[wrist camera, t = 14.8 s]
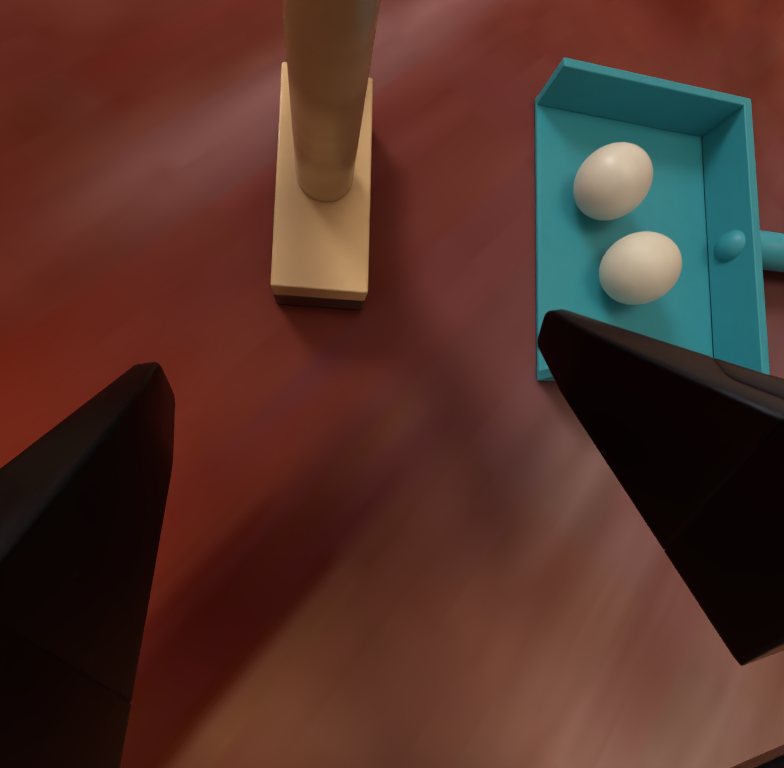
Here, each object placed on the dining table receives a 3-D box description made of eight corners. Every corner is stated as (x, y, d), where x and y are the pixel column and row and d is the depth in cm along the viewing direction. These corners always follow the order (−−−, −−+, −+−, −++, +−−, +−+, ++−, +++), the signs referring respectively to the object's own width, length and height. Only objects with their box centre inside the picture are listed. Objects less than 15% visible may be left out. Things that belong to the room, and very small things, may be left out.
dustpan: (536, 380, 21) (568, 374, 18) (534, 99, 22) (563, 56, 20) (813, 395, 24) (875, 392, 22) (794, 151, 26) (848, 120, 23)
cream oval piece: (623, 217, 23) (682, 183, 19) (576, 241, 22) (629, 211, 18) (596, 159, 22) (651, 114, 19) (548, 182, 22) (596, 140, 18)
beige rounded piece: (601, 298, 23) (676, 292, 21) (596, 315, 20) (682, 310, 19) (601, 234, 22) (681, 221, 20) (595, 242, 19) (688, 229, 17)
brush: (366, 120, 20) (457, -426, 7) (361, 310, 19) (457, 72, 6) (286, 107, 20) (227, -526, 7) (276, 304, 19) (183, 20, 6)
